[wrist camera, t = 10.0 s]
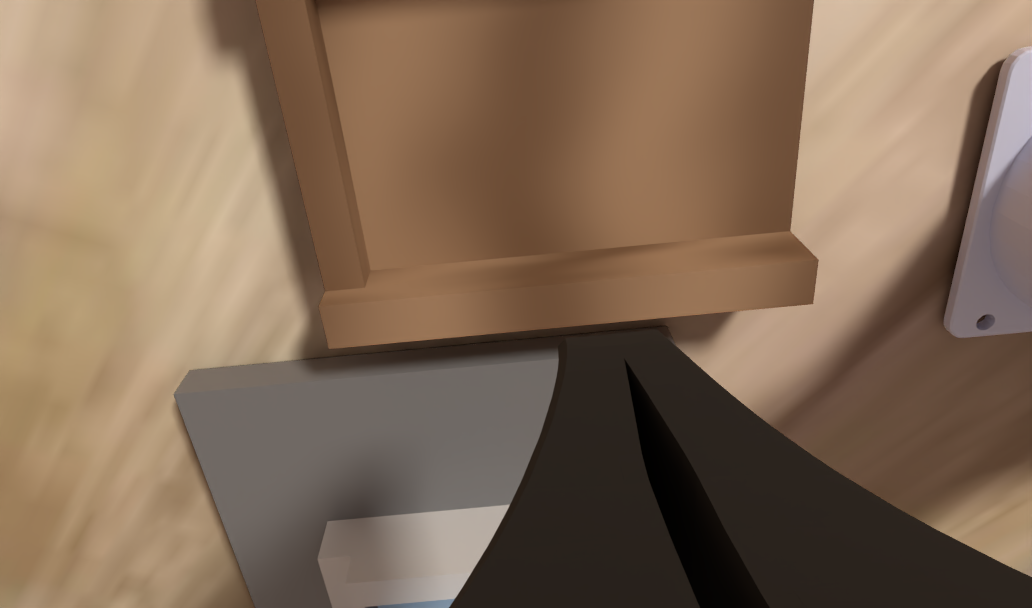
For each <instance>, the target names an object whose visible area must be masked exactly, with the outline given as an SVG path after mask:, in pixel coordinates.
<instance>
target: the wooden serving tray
mask: <svg viewBox="0 0 1032 608" xmlns="http://www.w3.org/2000/svg"><path fill="white" fill-rule="evenodd" d="M255 1H256V6H257V10H258V14H259V18H260V22H261V26H262V31H263V35H264V39H265V43H266V47H267V51H268V56H269V60H270V64H271V68H272V72H273V76H274V81H275V85H276V89H277V93H278V97H279V101H280V106H281V110H282V114H283V118H284V122H285V126H286V131H287V135H288V139H289V143H290V147H291V151H292V156H293V160H294V164H295V168H296V172H297V176H298V181H299V185H300V189H301V193H302V197H303V201H304V206H305V210H306V214H307V218H308V222H309V226H310V231H311V235H312V239H313V243H314V247H315V251H316V256H317V260H318V264H319V268H320V272H321V276H322V281H323V285H324V289H325V293H324V295H323V297H322V300H321V302H320V304H319V306H318V307H319V311H320V315H321V319H322V323H323V327H324V331H325V335H326V339H327V343H328V347H329V349H335V348H346V347H356V346H367V345H378V344H389V343H399V342H410V341H421V340H432V339H442V338H453V337H464V336H475V335H485V334H496V333H507V332H518V331H528V330H539V329H550V328H561V327H571V326H582V325H593V324H604V323H614V322H625V321H636V320H647V319H657V318H668V317H679V316H690V315H700V314H711V313H722V312H733V311H743V310H754V309H765V308H776V307H786V306H797V305H808V304H813V300H814V292H815V284H816V276H817V268H818V259H817V258H816V257H815V256H814V255H813V254H812V253H811V252H810V251H809V250H808V249H807V248H806V247H805V246H804V245H803V244H802V243H801V242H800V241H799V240H798V239H797V238H796V237H795V236H794V235H793V234H792V233H791V232H790V227H791V218H792V208H793V198H794V189H795V179H796V169H797V159H798V150H799V140H800V130H801V121H802V111H803V101H804V91H805V82H806V72H807V62H808V53H809V43H810V33H811V23H812V14H813V4H814V0H255Z"/></svg>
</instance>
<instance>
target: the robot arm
mask: <svg viewBox="0 0 1032 608" xmlns="http://www.w3.org/2000/svg"><path fill="white" fill-rule="evenodd" d="M986 314H987V315H986ZM983 315H986V317H985V318H984V319H983V320H982V321H981V322H979V323H977V321H978V319H979V318H980V317H982V316H983ZM944 326H945V328H946V330H947V331H949V332H950V333H951V334H952V335H954V336H955V337H957V338H969V337H980V336H991V335H1002V334H1012V333H1023V332H1032V46H1029V47H1024V48H1020V49H1017V50H1016V51H1014V52H1013V53H1011V54H1010V55H1009V56H1008V57H1007V59H1006V60H1005V61H1004V63H1003V65H1002V68H1001V70H1000V74H999V78H998V83H997V87H996V92H995V96H994V100H993V105H992V109H991V114H990V118H989V122H988V127H987V131H986V136H985V140H984V145H983V149H982V153H981V158H980V162H979V167H978V171H977V175H976V180H975V184H974V189H973V193H972V197H971V202H970V206H969V211H968V215H967V219H966V224H965V228H964V233H963V237H962V241H961V246H960V250H959V255H958V259H957V263H956V268H955V272H954V277H953V281H952V285H951V290H950V294H949V299H948V303H947V307H946V312H945V316H944ZM558 357H559V361H558V371H557V377H556V382H555V386H554V391H553V395H552V399H551V402H550V405H549V408H548V412H547V415H546V418H545V421H544V424H543V428H542V431H541V434H540V436H539V439H538V442H537V444H536V447H535V449H534V451H533V454H532V456H531V459H530V461H529V464H528V466H527V468H526V471H525V473H524V476H523V478H522V480H521V483H520V485H519V487H518V489H517V491H516V493H515V495H514V497H513V500H512V502H511V504H510V506H509V508H508V510H507V512H506V514H505V515H504V517H503V519H502V521H501V523H500V525H499V527H498V528H497V530H496V532H495V534H494V536H493V538H492V539H491V541H490V543H489V545H488V546H487V548H486V550H485V551H484V553H483V555H482V556H481V558H480V560H479V561H478V563H477V564H476V566H475V568H474V569H473V571H472V573H471V574H470V576H469V577H468V579H467V581H466V582H465V584H464V586H463V587H462V589H461V590H460V592H459V593H458V595H457V596H456V598H455V599H454V601H453V602H452V604H451V605H450V607H449V608H1032V577H1030V576H1028V575H1026V574H1024V573H1022V572H1019V571H1017V570H1015V569H1013V568H1011V567H1009V566H1007V565H1005V564H1003V563H1001V562H999V561H997V560H995V559H993V558H991V557H989V556H987V555H985V554H983V553H981V552H979V551H977V550H975V549H973V548H971V547H969V546H967V545H965V544H963V543H961V542H959V541H957V540H955V539H953V538H952V537H950V536H948V535H946V534H944V533H942V532H940V531H938V530H936V529H934V528H932V527H930V526H928V525H927V524H925V523H923V522H921V521H919V520H918V519H916V518H914V517H912V516H910V515H908V514H907V513H905V512H903V511H901V510H899V509H898V508H896V507H894V506H893V505H891V504H889V503H888V502H886V501H884V500H883V499H881V498H879V497H878V496H876V495H874V494H873V493H871V492H869V491H868V490H866V489H864V488H863V487H861V486H859V485H858V484H856V483H854V482H853V481H851V480H849V479H848V478H846V477H844V476H843V475H841V474H840V473H838V472H837V471H835V470H833V469H832V468H830V467H829V466H827V465H826V464H824V463H823V462H821V461H820V460H818V459H817V458H815V457H814V456H812V455H811V454H810V453H808V452H807V451H805V450H804V449H803V448H801V447H800V446H798V445H797V444H795V443H794V442H793V441H791V440H790V439H788V438H787V437H786V436H784V435H783V434H781V433H780V432H779V431H777V430H776V429H774V428H773V427H772V426H770V425H769V424H768V423H766V422H765V421H764V420H763V419H761V418H760V417H759V416H757V415H756V414H755V413H754V412H752V411H751V410H750V409H749V408H747V407H746V406H745V405H744V404H742V403H741V402H740V401H739V400H737V399H736V398H735V397H734V396H733V395H731V394H730V393H729V392H728V391H726V390H725V389H724V388H723V387H722V386H721V385H719V384H718V383H717V382H716V381H715V380H714V379H712V378H711V377H710V376H709V375H708V374H707V373H706V372H704V371H703V370H702V369H701V368H700V367H699V366H698V365H697V364H695V363H694V362H693V361H692V360H691V359H690V358H689V357H688V356H687V355H685V354H684V353H683V352H682V351H681V350H680V349H679V348H678V347H677V346H675V345H674V344H673V343H672V342H671V341H670V340H669V339H668V338H666V337H665V336H664V335H663V334H662V333H661V332H659V331H658V330H657V329H656V330H646V331H636V332H625V333H615V334H604V335H594V336H584V337H573V338H565V340H564V341H563V342H562V343H561V344H560V345H559V346H558Z"/></svg>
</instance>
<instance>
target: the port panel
mask: <svg viewBox="0 0 1032 608" xmlns="http://www.w3.org/2000/svg"><path fill="white" fill-rule="evenodd" d="M656 329H657V330H658V331H659V332H661V333H662V334H663V335H664V336H665V337H666V338H668V339H669V340H670V341H671V342H672V343H673V344H674V345H675V343H674V341H673V339H672V336H671V334H670V332H669V330H668V327H667V326H661V327H650V328H640V329H629V330H618V331H607V332H597V333H586V334H575V335H564V336H554V337H543V338H532V339H521V340H510V341H500V342H489V343H478V344H467V345H457V346H446V347H435V348H424V349H414V350H403V351H392V352H381V353H371V354H360V355H349V356H338V357H327V358H317V359H306V360H295V361H284V362H274V363H263V364H252V365H241V366H231V367H220V368H209V369H198V370H189V372H188V373H187V375H186V376H185V378H184V379H183V381H182V382H181V384H180V385H179V387H178V388H177V390H176V391H175V393H174V397H175V399H176V402H177V405H178V407H179V410H180V412H181V415H182V418H183V420H184V423H185V425H186V428H187V431H188V433H189V436H190V438H191V441H192V444H193V446H194V449H195V452H196V454H197V457H198V459H199V462H200V465H201V467H202V470H203V472H204V475H205V478H206V480H207V483H208V486H209V488H210V491H211V493H212V496H213V499H214V501H215V504H216V506H217V509H218V512H219V514H220V517H221V520H222V522H223V525H224V527H225V530H226V533H227V535H228V538H229V540H230V543H231V546H232V548H233V551H234V554H235V556H236V559H237V561H238V564H239V567H240V569H241V572H242V574H243V577H244V580H245V582H246V585H247V588H248V590H249V593H250V595H251V598H252V601H253V603H254V606H255V608H377V607H378V606H380V605H391V604H403V603H414V602H425V601H436V600H447V599H455V598H456V596H457V595H458V593H459V592H460V590H461V589H462V587H463V586H464V584H465V582H466V581H467V579H468V577H469V576H470V574H471V573H472V571H473V569H474V568H475V566H476V564H477V563H478V561H479V560H480V558H481V556H482V555H483V553H484V551H485V550H486V548H487V546H488V545H489V543H490V541H491V539H492V538H493V536H494V534H495V532H496V530H497V528H498V527H499V525H500V523H501V521H502V519H503V517H504V515H505V514H506V512H507V510H508V508H509V506H510V504H511V502H512V500H513V497H514V495H515V493H516V491H517V489H518V487H519V485H520V483H521V480H522V478H523V476H524V473H525V471H526V468H527V466H528V464H529V461H530V459H531V456H532V454H533V451H534V449H535V447H536V444H537V442H538V439H539V436H540V434H541V431H542V428H543V424H544V421H545V418H546V415H547V412H548V408H549V405H550V402H551V399H552V395H553V391H554V386H555V382H556V377H557V371H558V361H559V357H558V346H559V345H560V344H561V343H562V342H563V341H564V340H565V338H573V337H584V336H594V335H604V334H615V333H625V332H636V331H646V330H656ZM675 346H676V345H675Z"/></svg>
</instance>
